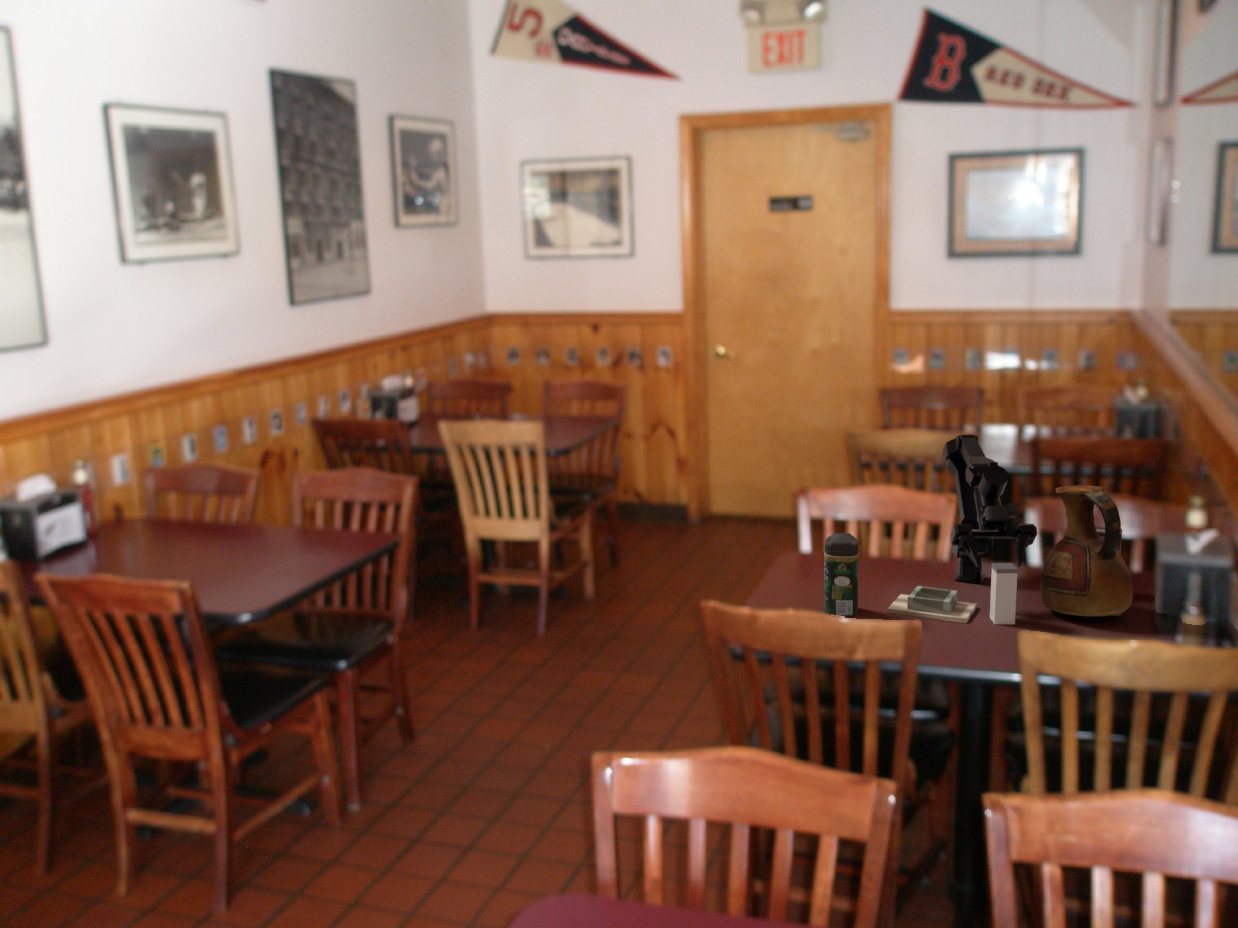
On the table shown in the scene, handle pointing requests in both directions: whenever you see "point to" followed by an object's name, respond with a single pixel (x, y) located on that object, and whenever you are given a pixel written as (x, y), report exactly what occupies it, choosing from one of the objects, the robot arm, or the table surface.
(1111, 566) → the ceramic pitcher
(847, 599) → the coffee jar
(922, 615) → the end holder
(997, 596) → the connector plug
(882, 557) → the table surface
